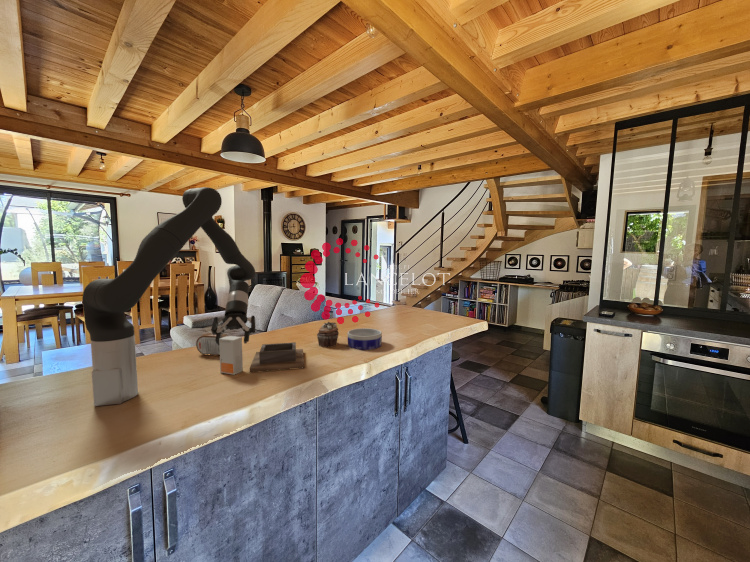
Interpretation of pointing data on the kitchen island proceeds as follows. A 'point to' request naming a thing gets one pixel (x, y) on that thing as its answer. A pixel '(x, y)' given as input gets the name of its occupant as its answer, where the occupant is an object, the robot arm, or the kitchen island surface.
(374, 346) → the dog bowl
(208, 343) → the tin
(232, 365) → the skincare box
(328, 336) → the cupcake
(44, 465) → the kitchen island surface
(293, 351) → the bottle holder
